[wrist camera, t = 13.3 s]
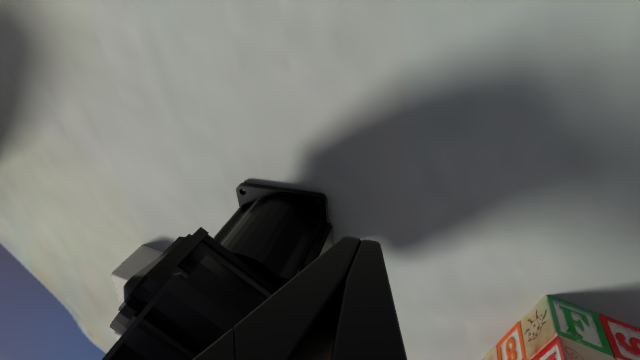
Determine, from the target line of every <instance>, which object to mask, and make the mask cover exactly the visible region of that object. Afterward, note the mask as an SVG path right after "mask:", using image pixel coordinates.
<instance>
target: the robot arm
mask: <svg viewBox="0 0 640 360" xmlns="http://www.w3.org/2000/svg"><path fill="white" fill-rule="evenodd" d="M243 189H244V190H245V191H246V192H244V191H243ZM236 192H237V197H238V202H239V206H240V208H239V209H238V210H237V211H236V212H235V214H234V215H233V216H232V217H231V218H230V219H229V221H228V222H227V223H226V224H225V225H224V226H223V228H222V229H221V230H220V231H219V232H218V233H217V235H216V236H215V237H214V238H212V237H211V236H209V235H208V232H207V231H206V230H204V229H203V228H202V227H200V228H199V229H198V230H197V231H196V232H195V233H194V234H193V235H190V234H189V235H187V236H186V237H178V238H177V240H176V241H175V242H174V243H173V244H172V245H171V246H170V247H169V248H168V249H167V250H166V251H165V252H164V253H163V254H161V255H160V256H159V257H158V258H157V259H155V260H154V261H153V262H151V263H150V264H148V265H147V266H146V267H144V268H143V269H142V270H140V271H139V272H137V273H136V274H135V275H133V276H132V277H131V278H130V279H129V280H128V281H127V282H126V284H125V285H124V302H123V303H122V304H121V306H120V307H119V311H120V312H119V313H118V314H117V316H116V317H115V318H114V320H113V321H112V323H111V325H110V327H111V328H112V329H113V330H115V331H116V332H118V333H119V334H122V336H121V337H120V338H119V340H118V341H117V342H116V343H115V344H114V346H113V347H112V348H111V349H110V350H109V352H108V353H107V354H106V355H105V357H104V358H103V359H102V360H407V357H406V352H405V348H404V344H403V340H402V335H401V331H400V327H399V322H398V318H397V314H396V310H395V305H394V301H393V297H392V292H391V288H390V284H389V280H388V275H387V271H386V267H385V262H384V258H383V254H382V250H381V245H380V243H379V242H377V241H372V240H366V239H364V240H362V241H361V240H360V239H359V238H354V237H348V236H344V237H342V238H341V239H340V240H339V241H337V242H336V243H335V244H334V241H333V226H332V225H331V223H329V219H328V200H327V197H326V196H325V195H324V194H322V193H316V192H309V191H301V190H294V189H286V188H279V187H271V186H264V185H256V184H249V183H241V184H240V185H239V186H238V187H237V188H236ZM317 199H318V200H320V201H321V203H320V202H318V201H317Z"/></svg>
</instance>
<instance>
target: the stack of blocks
mask: <svg viewBox="0 0 640 360" xmlns="http://www.w3.org/2000/svg"><path fill="white" fill-rule="evenodd" d="M482 360H640V329H637V328H635V327H632V326H630V325H627V324H624V323H622V322H619V321H616V320H614V319H611V318H608V317H605V316H603V315H600V314H596V313H593V312H591V311H588V310H585V309H583V308H580V307H577V306H575V305H572V304H570V303H567V302H564V301H562V300H559V299H556V298H554V297H551V296H549V295H546V296H544V297H543V298H542V299H541V300H540V301H539V303H538V304H537V305H536V306H535V307H534V308H533V309H532V310H531V311H530V312H529V313H528V314H527V315H526V316H525V317H524V318H523V319H522V320H521V321H519V322H518V323H517V324H516V325H515V326H514V327H513V328H512V329H511V330H510V331H509V332H508V333H507V334H506V335H505V336H504V337H503V338H502V339H501V340H500V342H499V343H498V344H497V345H496V346H495V347H494V348H493V349H492V350H491V351H490V352H489V353H488V354H487V355H486V356H485V357H484V358H483V359H482Z"/></svg>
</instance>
